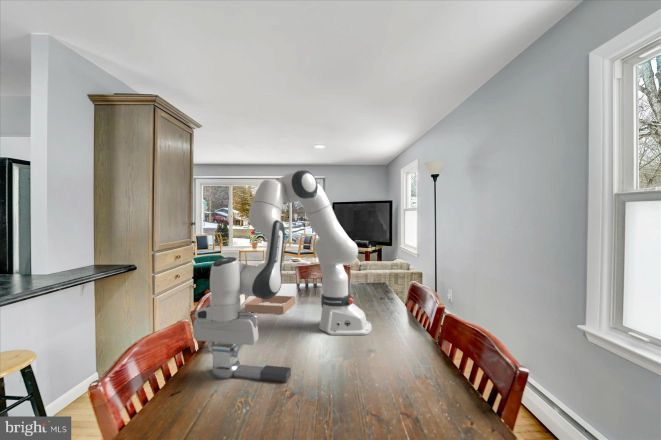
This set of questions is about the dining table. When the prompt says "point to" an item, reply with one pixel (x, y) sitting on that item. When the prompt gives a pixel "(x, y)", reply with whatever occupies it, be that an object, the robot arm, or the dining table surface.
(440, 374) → the dining table surface
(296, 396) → the dining table surface
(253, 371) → the ratchet
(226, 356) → the pale grey cube
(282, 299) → the tray
